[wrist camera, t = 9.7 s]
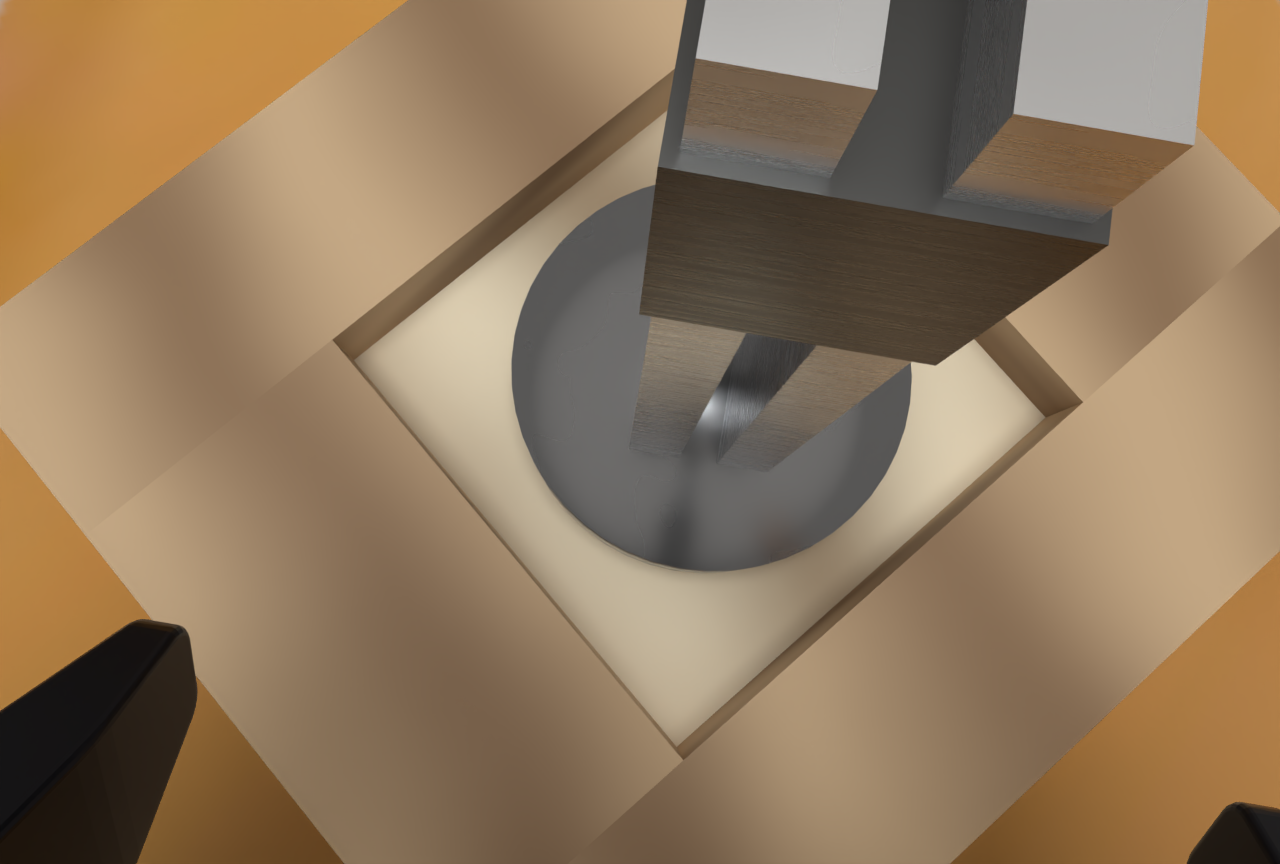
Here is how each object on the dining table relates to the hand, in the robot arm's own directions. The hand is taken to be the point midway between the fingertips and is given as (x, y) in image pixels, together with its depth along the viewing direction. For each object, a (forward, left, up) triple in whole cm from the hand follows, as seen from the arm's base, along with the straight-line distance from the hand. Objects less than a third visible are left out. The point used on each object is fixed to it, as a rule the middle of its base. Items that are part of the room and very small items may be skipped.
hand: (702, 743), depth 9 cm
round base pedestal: (+4, +3, -9) cm, 10 cm away
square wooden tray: (+4, +3, -10) cm, 11 cm away
